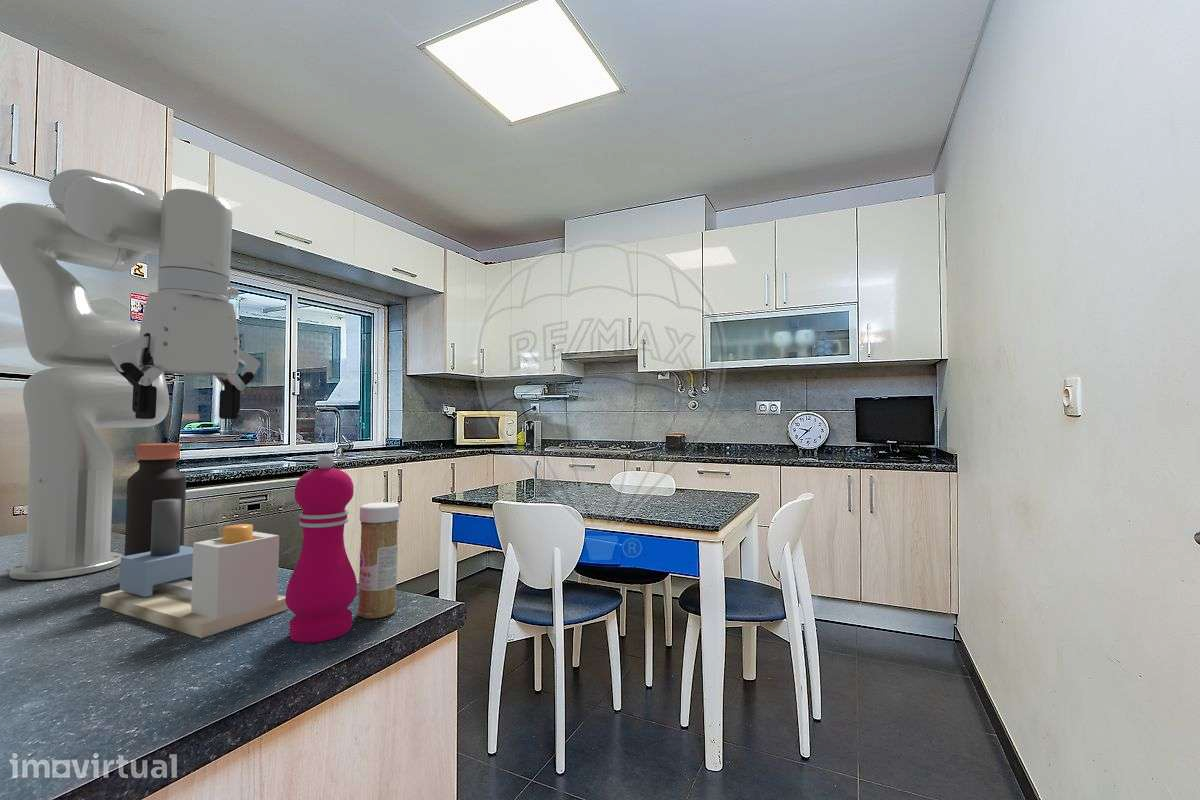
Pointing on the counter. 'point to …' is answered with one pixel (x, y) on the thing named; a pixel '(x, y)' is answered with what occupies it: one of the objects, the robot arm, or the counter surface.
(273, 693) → the counter surface
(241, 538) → the plunger
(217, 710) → the counter surface
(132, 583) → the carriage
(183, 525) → the vinegar
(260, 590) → the white box holder
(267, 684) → the counter surface
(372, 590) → the sprinkles bottle
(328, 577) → the pepper mill
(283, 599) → the rail base
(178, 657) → the counter surface
